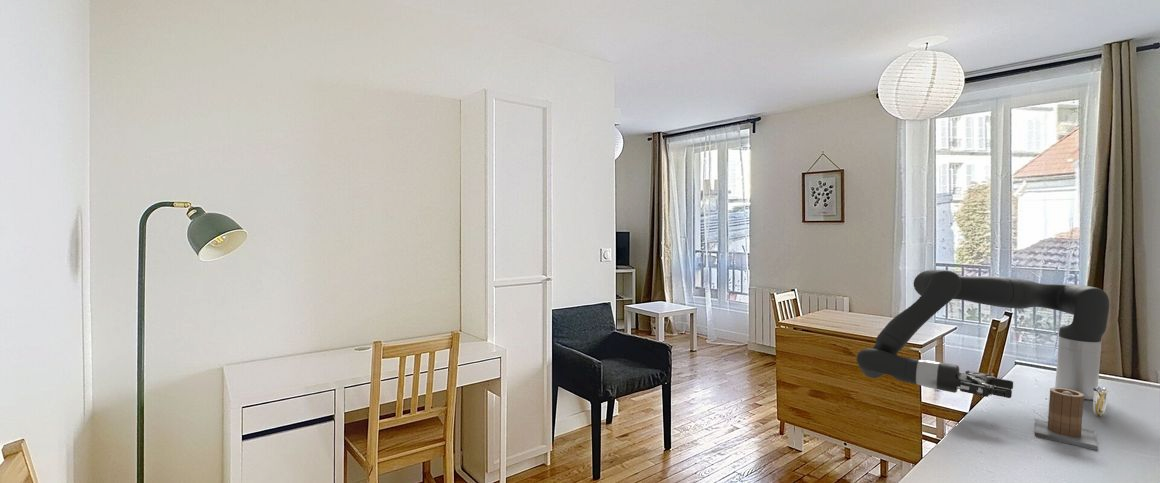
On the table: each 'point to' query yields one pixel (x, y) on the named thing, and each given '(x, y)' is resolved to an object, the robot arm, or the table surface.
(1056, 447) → the table surface
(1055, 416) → the wooden slatted cup
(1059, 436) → the grey post stand
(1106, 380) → the table surface
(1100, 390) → the ring
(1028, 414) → the table surface
